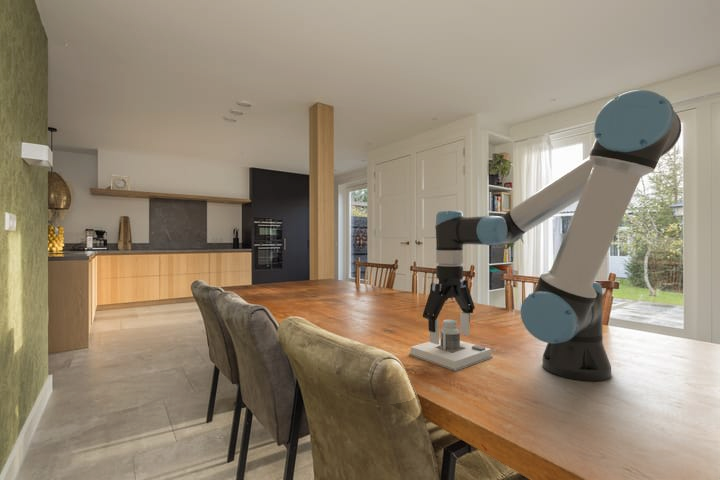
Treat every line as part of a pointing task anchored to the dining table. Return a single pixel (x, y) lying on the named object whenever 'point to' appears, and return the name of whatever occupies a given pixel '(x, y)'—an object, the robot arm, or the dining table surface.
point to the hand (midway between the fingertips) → (450, 338)
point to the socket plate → (451, 355)
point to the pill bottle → (450, 336)
